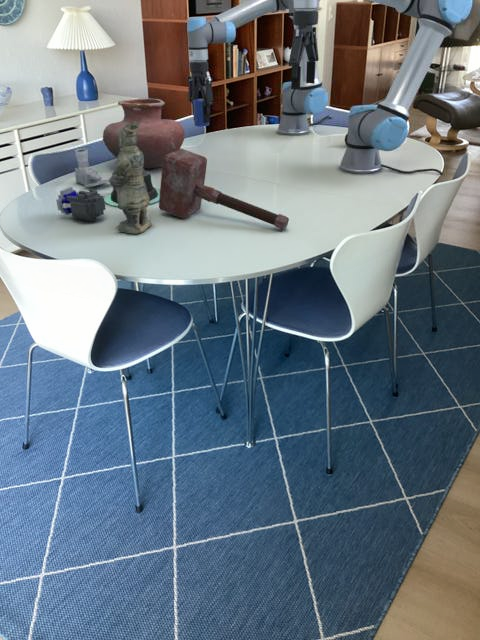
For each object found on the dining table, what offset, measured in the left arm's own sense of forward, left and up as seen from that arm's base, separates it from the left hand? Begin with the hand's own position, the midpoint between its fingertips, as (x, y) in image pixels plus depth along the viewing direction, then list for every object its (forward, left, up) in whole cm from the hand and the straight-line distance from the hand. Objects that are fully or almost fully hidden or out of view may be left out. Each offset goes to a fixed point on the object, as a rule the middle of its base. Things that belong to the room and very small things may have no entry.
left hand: (201, 121), depth 233 cm
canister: (0, 0, -2) cm, 2 cm away
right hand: (+20, +61, +20) cm, 68 cm away
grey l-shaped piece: (+59, -2, -13) cm, 61 cm away
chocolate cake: (+61, +21, -13) cm, 66 cm away
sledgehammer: (+61, +60, -13) cm, 87 cm away
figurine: (-51, +49, -13) cm, 72 cm away
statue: (+82, +43, -13) cm, 93 cm away
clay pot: (+31, -3, -13) cm, 34 cm away
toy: (+84, +23, -13) cm, 88 cm away
